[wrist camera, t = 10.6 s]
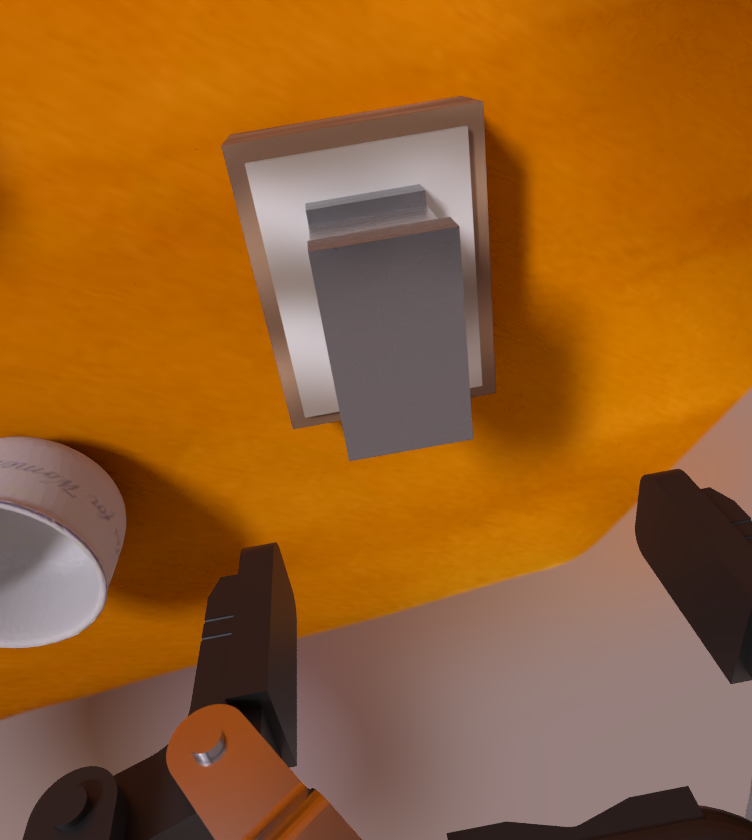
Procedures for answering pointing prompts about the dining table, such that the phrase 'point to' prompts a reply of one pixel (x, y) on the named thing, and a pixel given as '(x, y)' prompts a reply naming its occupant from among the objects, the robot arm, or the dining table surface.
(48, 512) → the teacup
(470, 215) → the stand
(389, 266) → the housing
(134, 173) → the dining table surface
